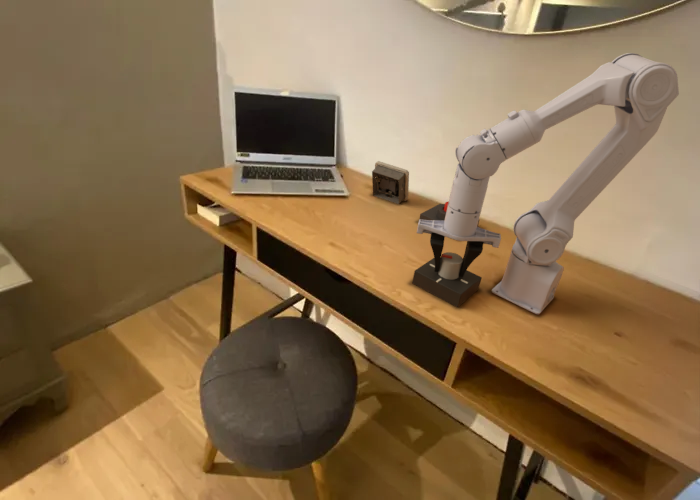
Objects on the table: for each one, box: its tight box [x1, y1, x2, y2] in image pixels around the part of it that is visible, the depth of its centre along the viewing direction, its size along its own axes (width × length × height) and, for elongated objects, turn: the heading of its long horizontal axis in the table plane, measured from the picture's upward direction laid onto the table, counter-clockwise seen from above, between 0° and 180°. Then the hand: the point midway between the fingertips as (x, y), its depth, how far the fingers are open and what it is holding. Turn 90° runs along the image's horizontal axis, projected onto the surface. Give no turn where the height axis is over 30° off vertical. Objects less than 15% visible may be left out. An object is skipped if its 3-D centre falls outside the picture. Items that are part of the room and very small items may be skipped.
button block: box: [419, 203, 480, 227], centre depth 112 cm, size 11×9×4 cm
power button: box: [444, 200, 449, 212], centre depth 110 cm, size 4×4×2 cm
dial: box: [438, 251, 463, 280], centre depth 88 cm, size 4×4×4 cm
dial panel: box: [411, 257, 482, 308], centre depth 90 cm, size 10×8×3 cm
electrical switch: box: [371, 160, 410, 205], centre depth 120 cm, size 9×5×9 cm, turn 57°
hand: (448, 271), depth 89 cm, fingers closed on dial, 4 cm apart
